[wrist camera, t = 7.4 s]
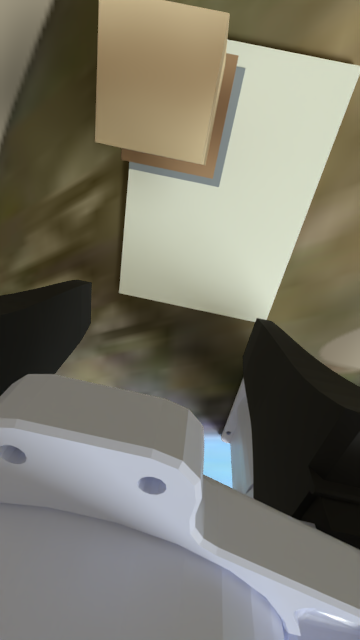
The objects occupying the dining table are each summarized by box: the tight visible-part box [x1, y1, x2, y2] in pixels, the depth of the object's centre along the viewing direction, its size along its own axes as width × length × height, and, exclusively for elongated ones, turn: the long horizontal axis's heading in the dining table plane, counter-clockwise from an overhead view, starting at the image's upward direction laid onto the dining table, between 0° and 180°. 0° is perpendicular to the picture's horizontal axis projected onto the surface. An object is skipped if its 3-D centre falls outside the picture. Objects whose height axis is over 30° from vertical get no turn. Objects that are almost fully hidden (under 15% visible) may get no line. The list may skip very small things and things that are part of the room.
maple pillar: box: [95, 0, 230, 165], centre depth 12 cm, size 4×4×5 cm
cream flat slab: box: [119, 39, 360, 322], centre depth 19 cm, size 16×12×1 cm
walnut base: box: [121, 53, 239, 179], centre depth 15 cm, size 5×5×4 cm
